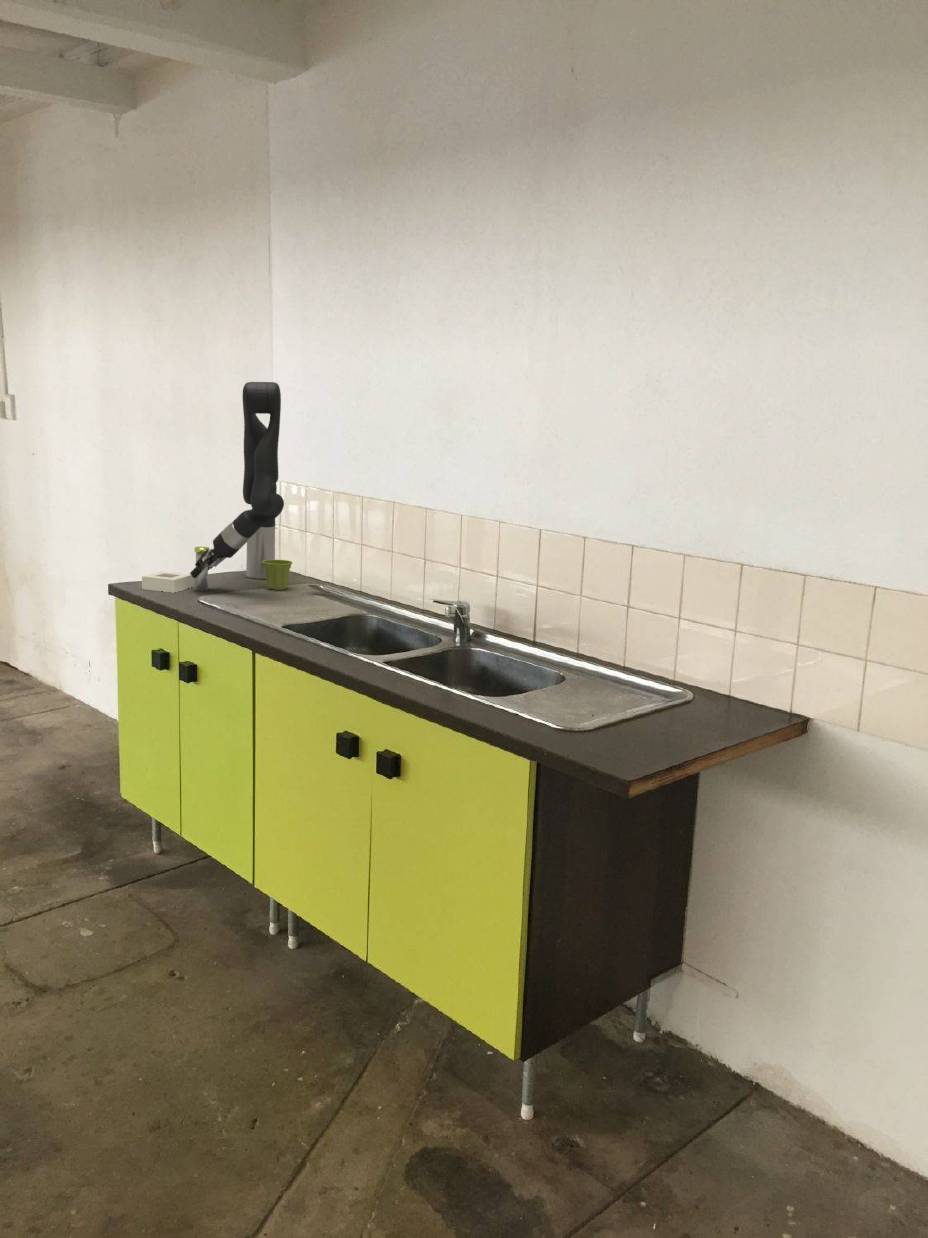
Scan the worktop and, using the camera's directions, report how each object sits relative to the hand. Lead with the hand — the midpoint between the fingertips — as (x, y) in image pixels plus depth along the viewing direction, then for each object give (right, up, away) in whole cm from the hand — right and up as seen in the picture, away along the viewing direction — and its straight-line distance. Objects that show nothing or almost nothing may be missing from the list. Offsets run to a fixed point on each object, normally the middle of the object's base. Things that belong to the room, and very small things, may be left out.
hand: (196, 574), depth 320 cm
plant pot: (+23, -4, +10) cm, 25 cm away
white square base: (-9, -4, 0) cm, 10 cm away
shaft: (+2, -5, 0) cm, 5 cm away
